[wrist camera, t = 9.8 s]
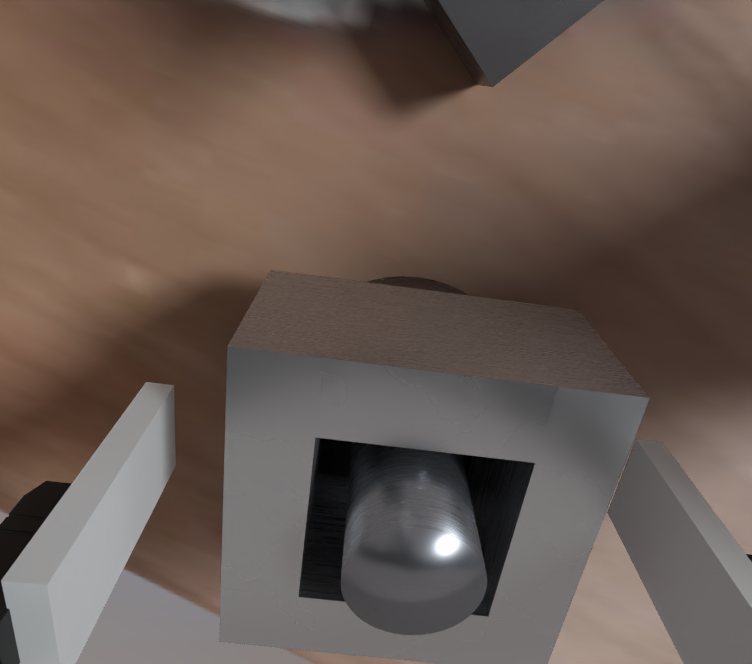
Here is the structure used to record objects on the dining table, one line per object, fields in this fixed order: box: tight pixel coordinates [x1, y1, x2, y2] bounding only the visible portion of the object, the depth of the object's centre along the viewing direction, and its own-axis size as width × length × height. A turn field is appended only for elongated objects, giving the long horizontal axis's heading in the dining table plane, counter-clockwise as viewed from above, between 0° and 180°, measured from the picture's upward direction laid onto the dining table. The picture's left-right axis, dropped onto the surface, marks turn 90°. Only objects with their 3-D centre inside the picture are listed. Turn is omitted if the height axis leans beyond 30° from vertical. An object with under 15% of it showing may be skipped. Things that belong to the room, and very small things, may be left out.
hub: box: [318, 277, 487, 635], centre depth 17 cm, size 8×8×9 cm
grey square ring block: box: [219, 270, 650, 664], centre depth 16 cm, size 9×9×5 cm
